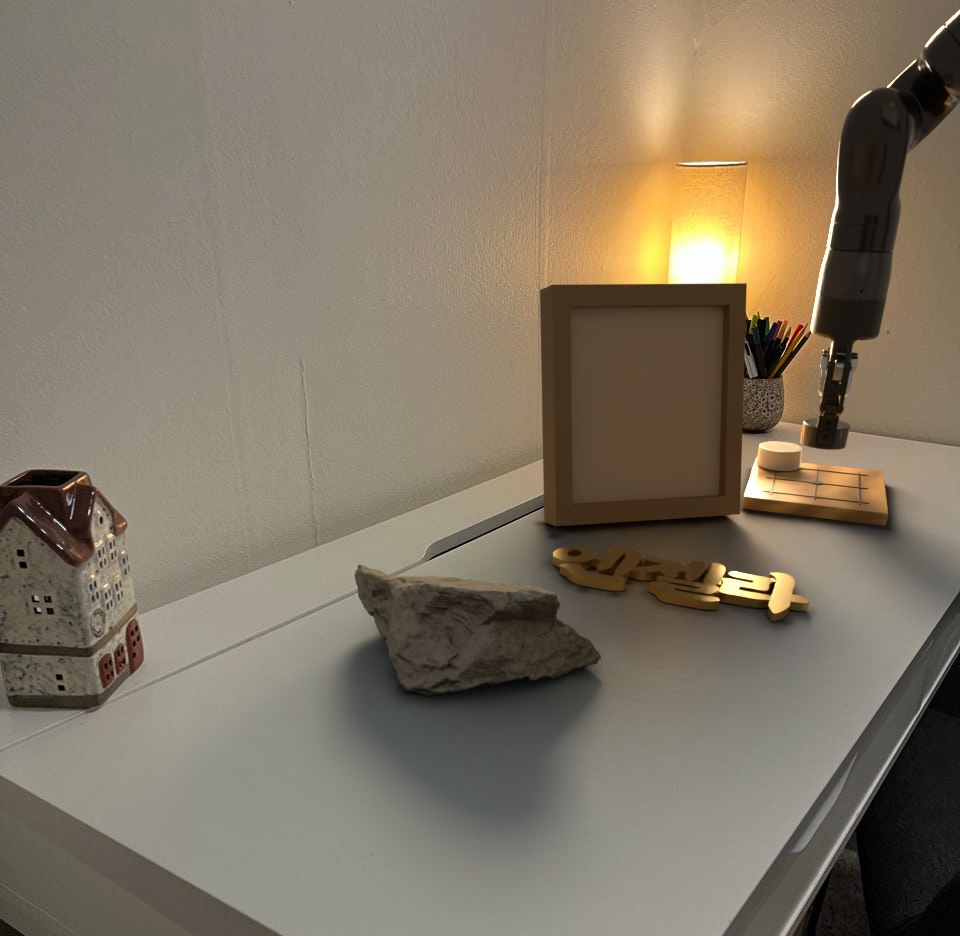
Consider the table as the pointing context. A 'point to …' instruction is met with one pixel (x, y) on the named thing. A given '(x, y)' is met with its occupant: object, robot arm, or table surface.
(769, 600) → the lettering
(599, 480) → the photo frame
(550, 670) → the fossil stone
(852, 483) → the game board
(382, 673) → the table surface
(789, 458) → the white stone
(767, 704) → the table surface
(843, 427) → the black stone
